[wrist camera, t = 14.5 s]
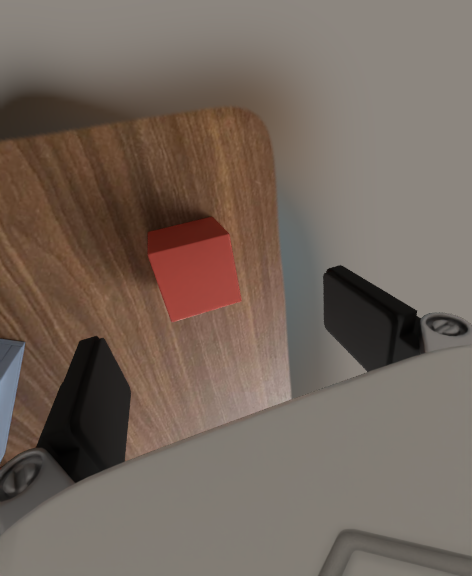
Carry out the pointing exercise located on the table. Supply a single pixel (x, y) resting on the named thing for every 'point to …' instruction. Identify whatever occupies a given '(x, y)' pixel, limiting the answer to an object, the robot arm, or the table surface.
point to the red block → (194, 267)
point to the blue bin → (8, 385)
